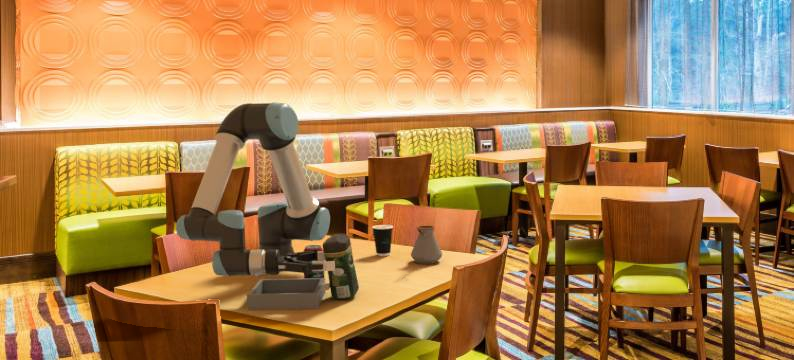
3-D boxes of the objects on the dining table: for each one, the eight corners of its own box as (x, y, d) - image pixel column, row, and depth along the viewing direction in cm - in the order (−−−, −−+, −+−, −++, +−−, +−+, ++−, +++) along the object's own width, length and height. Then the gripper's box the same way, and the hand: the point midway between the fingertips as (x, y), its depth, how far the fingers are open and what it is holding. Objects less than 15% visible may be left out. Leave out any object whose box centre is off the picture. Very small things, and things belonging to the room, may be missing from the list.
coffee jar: (337, 289, 234) (327, 232, 231) (361, 287, 233) (352, 230, 229) (328, 301, 225) (318, 242, 221) (354, 299, 224) (343, 240, 220)
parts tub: (260, 293, 236) (260, 279, 235) (333, 292, 235) (332, 278, 235) (247, 310, 217) (246, 294, 217) (326, 308, 217) (325, 293, 216)
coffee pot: (414, 258, 281) (413, 218, 280) (444, 258, 279) (443, 218, 277) (402, 271, 261) (401, 228, 259) (435, 272, 258) (434, 229, 256)
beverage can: (308, 286, 243) (307, 249, 242) (301, 281, 249) (299, 246, 248) (327, 283, 247) (326, 247, 245) (320, 278, 252) (318, 243, 251)
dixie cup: (386, 257, 283) (385, 229, 281) (369, 256, 287) (368, 227, 286) (397, 253, 289) (396, 225, 288) (380, 252, 294) (379, 224, 292)
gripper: (273, 265, 238) (340, 263, 237) (258, 285, 213) (333, 283, 212) (272, 241, 237) (340, 240, 236) (257, 259, 212) (332, 257, 212)
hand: (337, 260), depth 224 cm, fingers open, 13 cm apart
